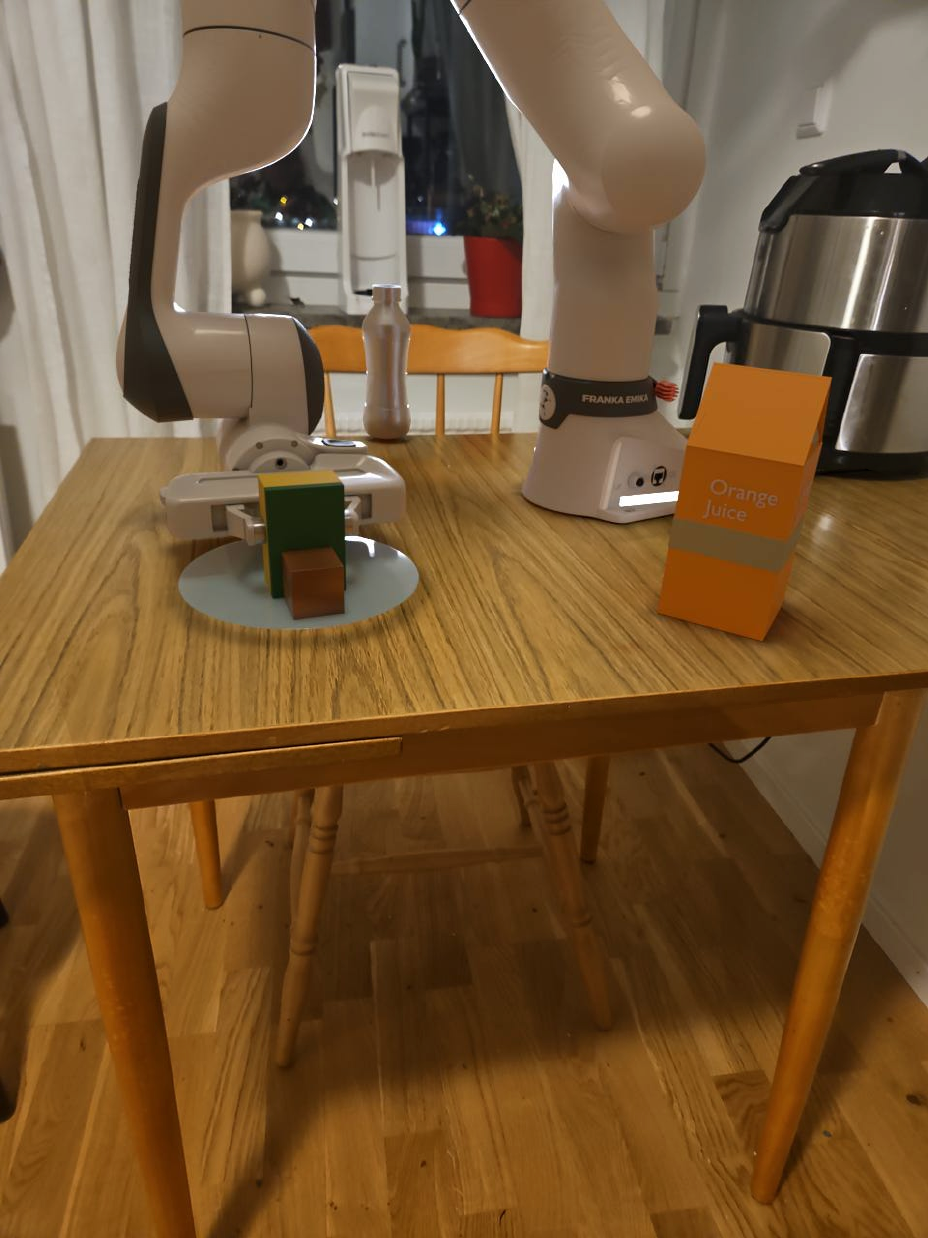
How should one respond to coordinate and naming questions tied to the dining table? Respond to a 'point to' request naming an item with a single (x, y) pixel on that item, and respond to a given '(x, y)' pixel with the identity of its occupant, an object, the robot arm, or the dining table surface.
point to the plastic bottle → (386, 365)
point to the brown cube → (313, 582)
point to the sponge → (300, 518)
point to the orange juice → (743, 497)
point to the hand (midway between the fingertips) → (305, 531)
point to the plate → (241, 596)
